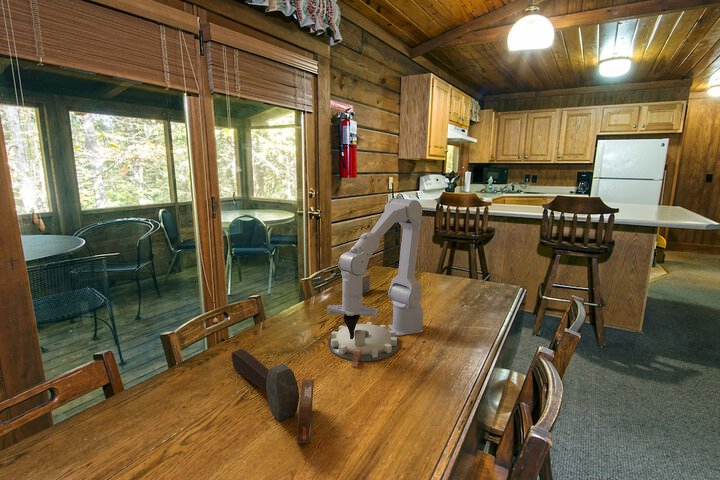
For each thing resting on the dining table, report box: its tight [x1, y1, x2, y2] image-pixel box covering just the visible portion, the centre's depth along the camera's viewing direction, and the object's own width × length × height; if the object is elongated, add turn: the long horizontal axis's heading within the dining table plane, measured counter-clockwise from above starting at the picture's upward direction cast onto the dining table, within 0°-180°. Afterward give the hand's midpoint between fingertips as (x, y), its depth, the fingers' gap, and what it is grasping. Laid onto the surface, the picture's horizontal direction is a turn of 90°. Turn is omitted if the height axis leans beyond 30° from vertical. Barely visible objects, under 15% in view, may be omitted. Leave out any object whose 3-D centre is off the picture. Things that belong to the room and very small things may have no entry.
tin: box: [296, 378, 315, 444], centre depth 78 cm, size 15×3×8 cm, turn 5°
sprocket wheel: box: [330, 321, 398, 358], centre depth 114 cm, size 20×20×6 cm
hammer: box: [231, 348, 300, 422], centre depth 91 cm, size 5×11×30 cm
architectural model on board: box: [362, 270, 371, 294], centre depth 159 cm, size 11×3×10 cm, turn 132°
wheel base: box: [327, 335, 400, 368], centre depth 114 cm, size 22×24×2 cm
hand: (352, 337), depth 109 cm, fingers closed
